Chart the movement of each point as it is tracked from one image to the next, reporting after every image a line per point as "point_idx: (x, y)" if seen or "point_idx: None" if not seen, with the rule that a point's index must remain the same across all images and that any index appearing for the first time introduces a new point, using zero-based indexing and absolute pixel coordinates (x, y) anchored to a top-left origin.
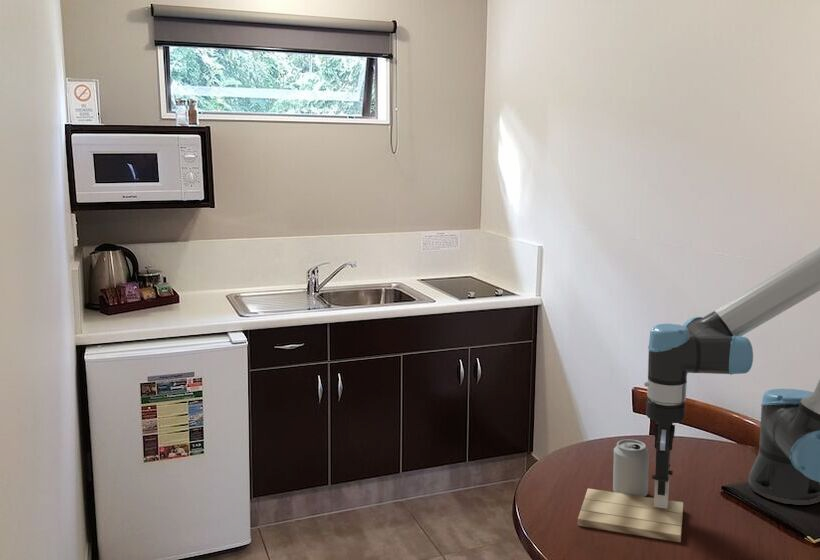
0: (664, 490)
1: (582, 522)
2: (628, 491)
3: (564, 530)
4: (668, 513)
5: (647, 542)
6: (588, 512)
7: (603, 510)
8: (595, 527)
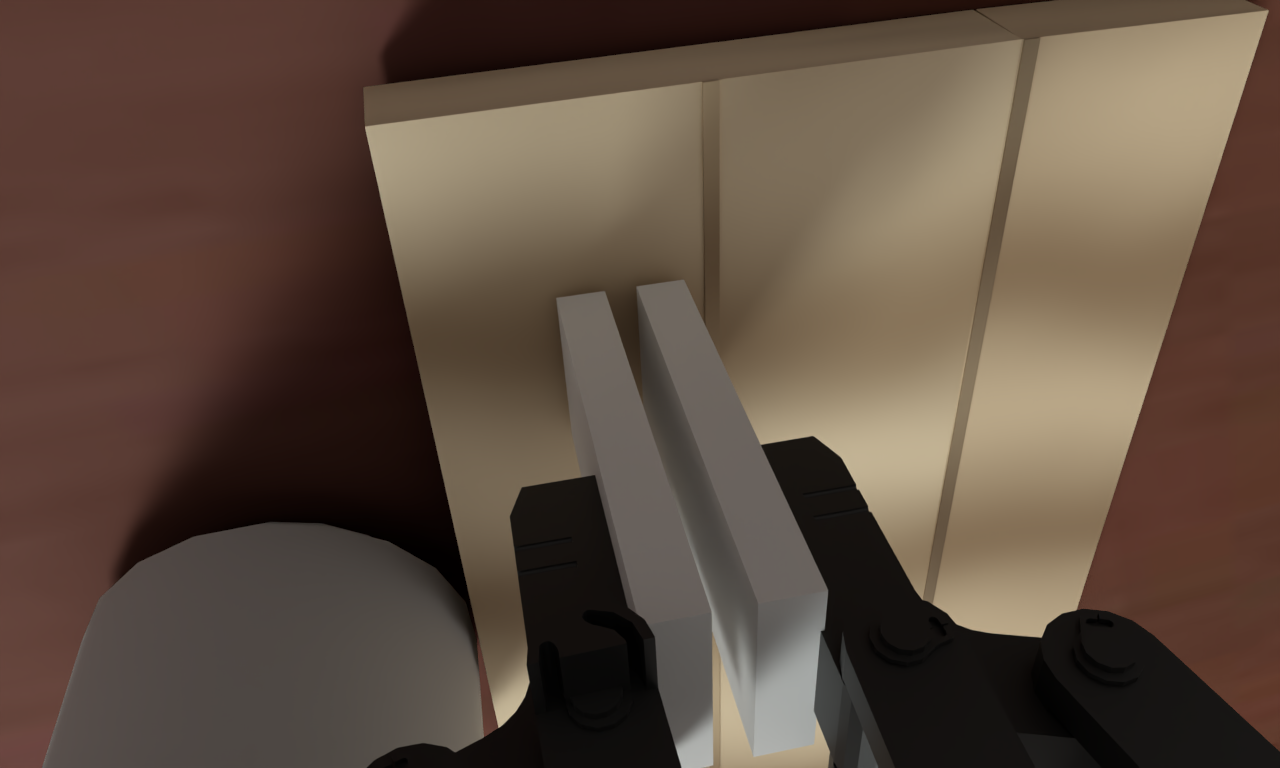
0: (860, 499)
1: None
2: (476, 689)
3: None
4: (761, 242)
5: (1209, 282)
6: None
7: None
8: None
